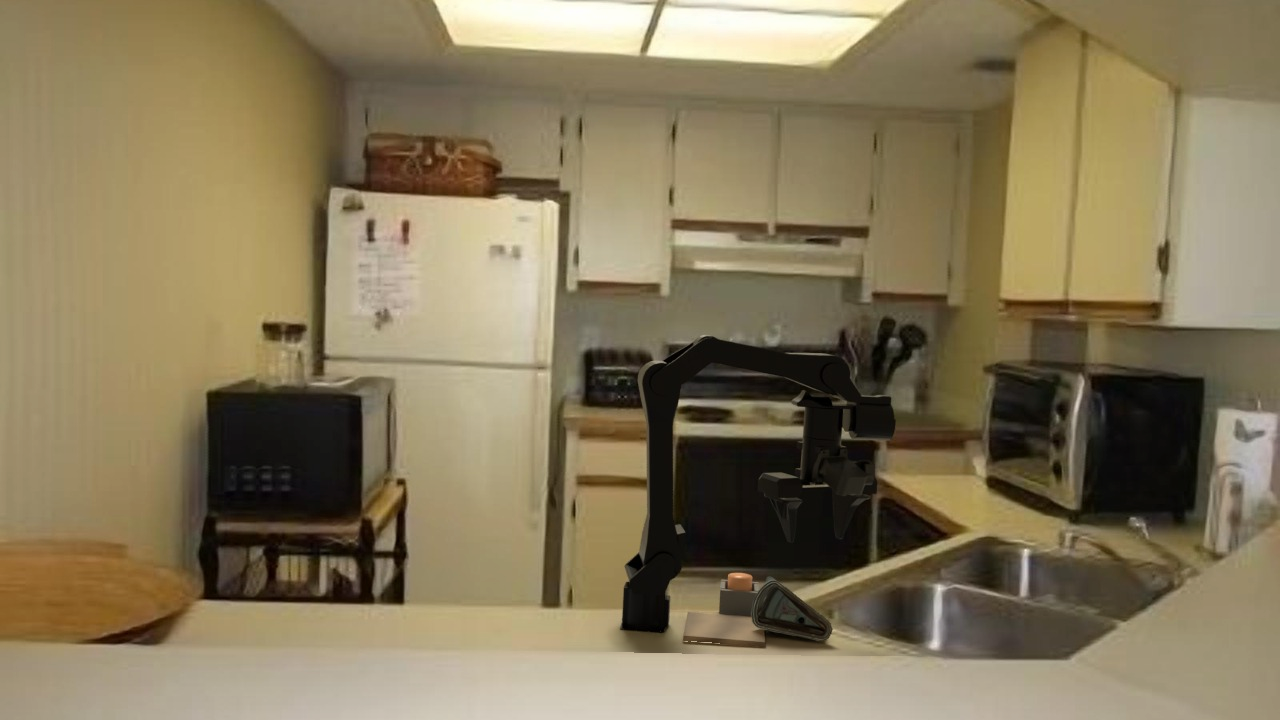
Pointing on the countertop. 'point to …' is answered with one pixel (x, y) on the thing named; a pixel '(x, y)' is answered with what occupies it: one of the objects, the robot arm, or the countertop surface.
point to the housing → (736, 600)
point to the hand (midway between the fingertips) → (814, 540)
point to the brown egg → (740, 582)
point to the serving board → (722, 629)
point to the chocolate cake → (787, 613)
